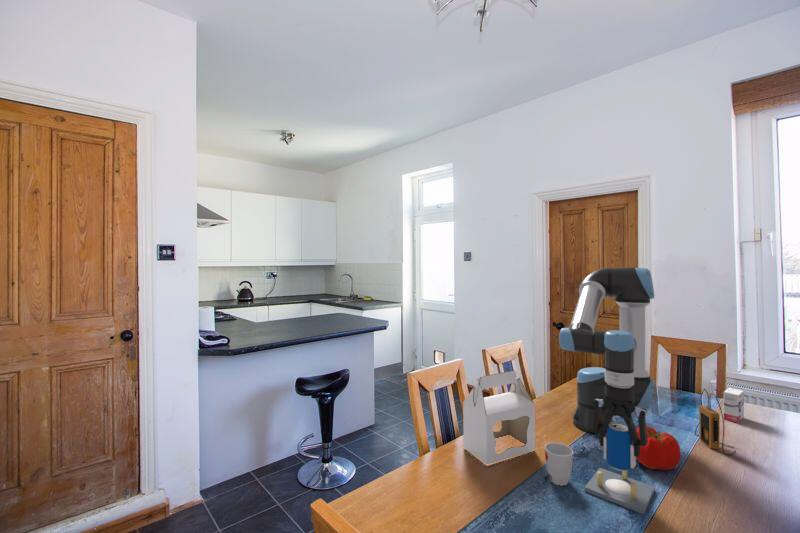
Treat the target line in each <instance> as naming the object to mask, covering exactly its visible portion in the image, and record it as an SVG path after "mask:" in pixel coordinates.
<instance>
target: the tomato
mask: <svg viewBox="0 0 800 533" xmlns="http://www.w3.org/2000/svg"><path fill="white" fill-rule="evenodd" d="M646 430H647V440H648V442H647V444H646V445H645V446H640V455H639V456H638V457H636V461H638V462H639V463H640V464H642V465H643V466H644V467H646V468H647V469H651V470H658V469H659V470H662V471H670V470H672V469H674V468H677V466H678V465H679V464H680V461H681V459H682V458H681V457H682V456H681V455H682V453H681V446H680V444H679V441H678V440H677V439H676V438H675V436H673V435H672V434H670V433H668V432H662V433H661V431H657V430H656V429H655V428H653V427H651V426H649V425H648V426H647V425H646ZM636 431H637V434H638V437H639V439H640V431H639V426H638V427H637V428H636ZM632 442H633V441H632Z"/></svg>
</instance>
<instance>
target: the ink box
mask: <svg viewBox="0 0 800 533" xmlns="http://www.w3.org/2000/svg"><path fill="white" fill-rule="evenodd" d="M744 407H745V392H744V390H742V389H737V388H733V387H728V388H726V389H725V390H724V391H723V420H724V421H730V422H734V423H736V424H737V423H740V422H741V421H742V420H743V419H744V418H745V417H744V416H745V414H744V413H745V410H744V409H745V408H744ZM743 417H744V418H743ZM742 418H743V419H742ZM740 420H741V421H740Z"/></svg>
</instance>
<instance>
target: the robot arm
mask: <svg viewBox="0 0 800 533" xmlns="http://www.w3.org/2000/svg"><path fill="white" fill-rule="evenodd" d="M653 283H654V282H653V278H652V272H651V271H650V270H649V269H648V268H645V267H603V268H599V269H597V270H595V271H593V272H591V273H589V274H588V275H587V276H585V277H584V278H583V279H582V281H581V283H580V284H579V286H578V287H579V288H578V294H579V297H578V299H577V303H576V305H575V306H576V307H575V309H574V312H573V315H572V318H571V321H570V325H569V327H562V328H561V329H560V331H559V336H558V342H559V347H560V348H561V350H565V351H569V352H570V351H571V352H572V353H573V352H576V353H586V354H596V355H603V356H604V367H599V366H595V367H594V366H593V367H584V368H581V369H579V370H578V372H577V374H576V376H577V377H576V386H577V387H576V388H577V390H576V391H577V393H576V394H577V395H576V396H577V397H576V398H577V399H576V400H577V405H576V406H575V407H576V408H575V410H574V413H573V416H572V423H573V425H574V426H575V427H577V428H578V429H579V430H582V431H584V432H589V433H592V434H593V433H594V434H598V435H599V445H600V446H601V447H602V448H603V460H606V461H607V427H608V426H609V424H610V423H612V422H614V419H613V418H614V416H615V417H620V418H623V421H624V422H625V425H627V427H628V430H629V433H630V436H631V439H632V441H633V442H632V444H631V445H630V453H631V468H632V469H633V470H634V469H635V467H636V465H637V459H636V457H638V456H639V455H640V446H645V445H646V444H647V442H648V440H647V430H646V426H647V422H646V416H647V413H648V410H651V407H652V401H653V395H654V388H655V382H656V381H655V380H654V379H652V378H651V374H650V373H649V371H647V369H646V307H647V306H648V305H650V304H651V300H653V299H655V291H654V284H653ZM605 297H606V298H607V297H609V298H614V302H615V303H616V304H617V305H618V307H619V316H618V318H619V319H618V320H619V330H617V329H616V330H615V329H614V330H612V329H611V330H608V331H607V330H606V331H604V330H595V328H596V323H597V319H598V315H599V311H600V306H601V301H602V300H604V299H605ZM634 411H635V412H636V416H638V417H637V418H638V427H639V431H640V439H639V437H638V434H637V431H636V429H637V428H636V426H635V425H636V424H635V423H634V420H633V416H632V413H634Z"/></svg>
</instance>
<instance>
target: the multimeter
mask: <svg viewBox="0 0 800 533" xmlns="http://www.w3.org/2000/svg"><path fill="white" fill-rule="evenodd" d="M704 391H705V393H706V394H707V404H706V405H707V406H706V405H703V403H702V401H700V404H701V405H699V407H698V408H699V410H698V412H699V414H698V415H699V416H698V417H699V421H698V424H697V426H696V427H695V430H694V435H695V436H697V437H699V440H700V442H701V443H703V444H705V445H706V446H707V447H708V448H709V449H712V450H713V449H714V450H720V445H722V446H721V448H722V453H723V454H724V455H727V456H733V455H734V454H735V452H736V450H735V449H738V450H740V448H739V447H735V446H734V445H729V444H726V443H724V439H725V438H724V437H725V419H724V414H723V411H722V407H721V404H720V402H719V400H718V397H717V396H716V394H714V393H710V394H709V393H708V391H707V390H706V388H703V390H702V392H701V395H700V398H702V396H703V394H704ZM711 396H714V397H715V400H716V401H717V404H718V407H719V410H720V413H719V412H718V411H716V410H715V409H713V408H712V406H711V401H710V397H711ZM720 414H721V418H722V426H723V427H722V428H723V430H722V443H721V442H720ZM698 427H699V428H698ZM697 430H699V434H697ZM724 446H725V447H729V448H732V449H733V450H732V452H731V454H728V453H725V451H724V450H725V449H724Z"/></svg>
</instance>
